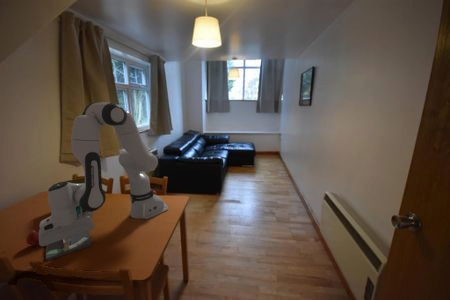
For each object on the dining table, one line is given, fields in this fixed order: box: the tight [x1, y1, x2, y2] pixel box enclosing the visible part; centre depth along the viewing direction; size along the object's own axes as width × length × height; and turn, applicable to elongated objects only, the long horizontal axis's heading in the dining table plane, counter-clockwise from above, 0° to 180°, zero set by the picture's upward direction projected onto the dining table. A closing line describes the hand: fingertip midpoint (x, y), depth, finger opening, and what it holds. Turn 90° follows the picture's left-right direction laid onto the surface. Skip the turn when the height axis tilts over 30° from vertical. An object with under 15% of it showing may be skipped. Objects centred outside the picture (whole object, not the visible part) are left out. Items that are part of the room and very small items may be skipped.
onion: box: [25, 230, 39, 247], centre depth 101 cm, size 6×6×8 cm
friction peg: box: [63, 239, 69, 251], centre depth 101 cm, size 2×15×6 cm, turn 41°
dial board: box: [45, 230, 93, 262], centre depth 103 cm, size 17×16×1 cm
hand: (70, 244), depth 98 cm, fingers closed, pressing on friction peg
